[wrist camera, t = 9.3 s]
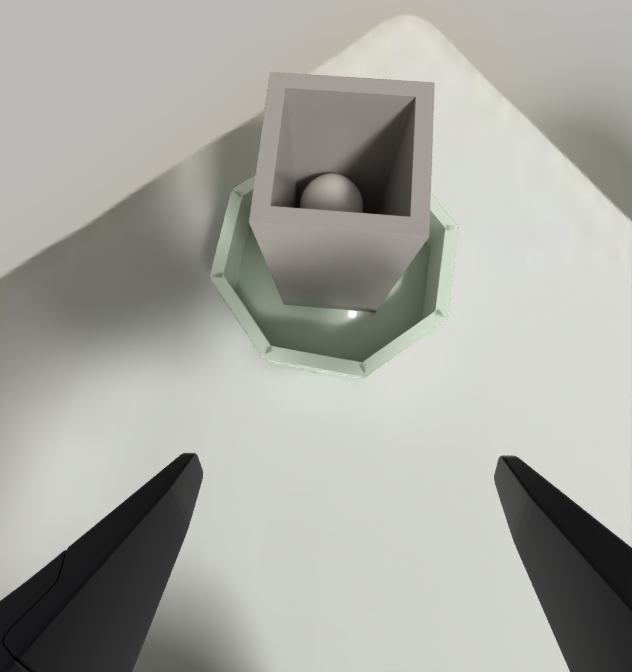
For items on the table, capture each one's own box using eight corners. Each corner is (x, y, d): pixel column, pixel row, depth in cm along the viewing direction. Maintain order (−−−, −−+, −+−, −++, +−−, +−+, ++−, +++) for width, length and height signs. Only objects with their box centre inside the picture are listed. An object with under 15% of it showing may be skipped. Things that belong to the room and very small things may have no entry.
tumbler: (375, 312, 19) (429, 236, 10) (283, 304, 19) (248, 221, 10) (381, 227, 20) (434, 82, 11) (293, 220, 20) (269, 71, 11)
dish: (306, 417, 19) (303, 422, 16) (194, 248, 21) (172, 224, 18) (477, 296, 20) (505, 279, 17) (355, 146, 22) (361, 108, 19)
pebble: (340, 237, 13) (342, 159, 13) (286, 240, 15) (286, 171, 14) (372, 243, 15) (376, 177, 15) (322, 245, 17) (324, 186, 17)
